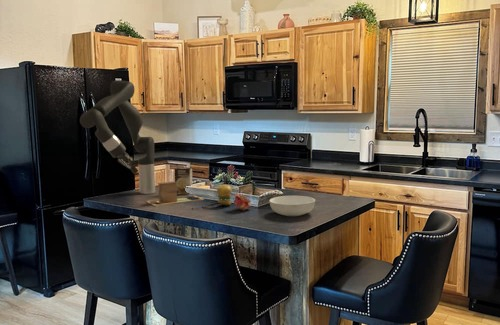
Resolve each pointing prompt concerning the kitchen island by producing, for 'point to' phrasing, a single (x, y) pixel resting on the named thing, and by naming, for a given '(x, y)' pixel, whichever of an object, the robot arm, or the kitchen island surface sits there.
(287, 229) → the kitchen island surface
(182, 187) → the coffee box
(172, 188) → the block
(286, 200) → the serving bowl
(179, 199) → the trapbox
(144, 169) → the robot arm
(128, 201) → the kitchen island surface
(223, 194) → the hamburger
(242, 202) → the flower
